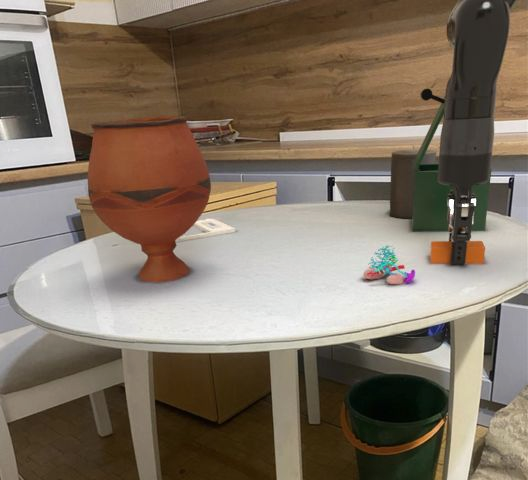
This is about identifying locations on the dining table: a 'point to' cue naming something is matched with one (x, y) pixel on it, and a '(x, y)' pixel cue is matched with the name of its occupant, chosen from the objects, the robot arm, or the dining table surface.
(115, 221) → the goblet
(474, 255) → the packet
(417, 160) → the bin lid
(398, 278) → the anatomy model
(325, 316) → the dining table surface
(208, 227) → the photo frame
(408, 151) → the pillar candle
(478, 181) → the robot arm
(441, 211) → the bin
